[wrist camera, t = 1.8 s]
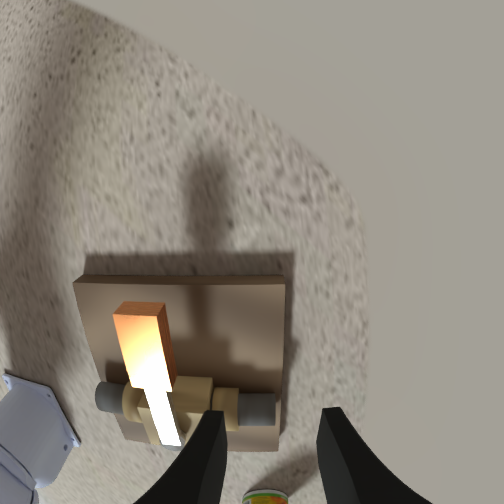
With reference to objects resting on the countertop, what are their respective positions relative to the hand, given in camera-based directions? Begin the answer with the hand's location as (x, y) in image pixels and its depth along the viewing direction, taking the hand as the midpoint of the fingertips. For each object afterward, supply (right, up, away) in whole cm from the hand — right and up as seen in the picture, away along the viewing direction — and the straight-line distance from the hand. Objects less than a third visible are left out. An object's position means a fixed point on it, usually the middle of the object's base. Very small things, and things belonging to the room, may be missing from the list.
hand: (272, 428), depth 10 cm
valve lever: (-6, -1, +6) cm, 8 cm away
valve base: (-6, -4, +12) cm, 14 cm away
